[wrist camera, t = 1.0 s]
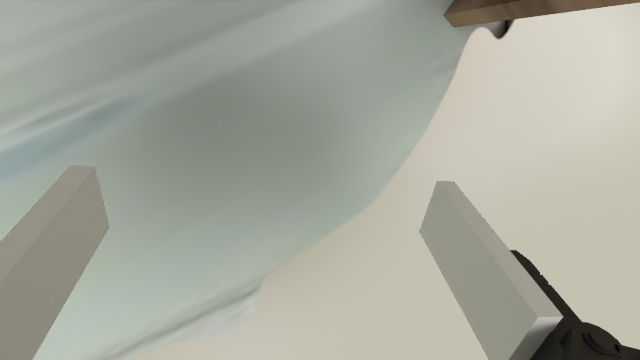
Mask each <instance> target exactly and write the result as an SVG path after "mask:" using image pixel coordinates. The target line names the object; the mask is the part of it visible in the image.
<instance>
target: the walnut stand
mask: <svg viewBox="0 0 640 360" xmlns="http://www.w3.org/2000/svg"><path fill="white" fill-rule="evenodd" d="M638 2H640V0H454V2H453V3H452V5H451V6H450V7H449V9H448V10H447V11H446V13H445V14H444V16H445V18H446V19H447V20H448V21H449V22H450V24H451V25H452V26H453V27H460V26H467V25H474V24H482V23H489V22H497V21H504V20H511V19H518V18H525V17H534V16H541V15H549V14H556V13H563V12H570V11H578V10H586V9H593V8H601V7H608V6H615V5H623V4H630V3H638Z"/></svg>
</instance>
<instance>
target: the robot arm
mask: <svg viewBox="0 0 640 360" xmlns="http://www.w3.org/2000/svg"><path fill="white" fill-rule="evenodd" d="M108 228H109V224H108V219H107V215H106V211H105V207H104V203H103V199H102V195H101V191H100V186H99V182H98V178H97V174H96V170H95V167H89V166H70V167H69V168H68V170H67V171H66V172H65V173H64V174H63V175H62V176H61V177H60V178H59V179H58V180H57V181H56V182H55V184H54V185H53V186H52V187H51V188H50V189H49V190H48V191H47V192H46V193H45V194H44V195H43V197H42V198H41V199H40V200H39V201H38V202H37V203H36V204H35V205H34V206H33V207H32V208H31V209H30V211H29V212H28V213H27V214H26V215H25V216H24V217H23V218H22V219H21V220H20V221H19V222H18V224H17V225H16V226H15V227H14V228H13V229H12V230H11V231H10V232H9V233H8V234H7V235H6V237H5V238H4V239H3V240H2V241H1V242H0V360H32V359H33V357H34V356H35V354H36V352H37V350H38V349H39V347H40V345H41V344H42V342H43V340H44V338H45V337H46V335H47V333H48V331H49V330H50V328H51V326H52V325H53V323H54V321H55V319H56V318H57V316H58V314H59V313H60V311H61V309H62V307H63V306H64V304H65V302H66V300H67V299H68V297H69V295H70V294H71V292H72V290H73V288H74V287H75V285H76V283H77V281H78V280H79V278H80V276H81V275H82V273H83V271H84V269H85V268H86V266H87V264H88V263H89V261H90V259H91V257H92V256H93V254H94V252H95V250H96V249H97V247H98V245H99V244H100V242H101V240H102V238H103V237H104V235H105V233H106V231H107V230H108ZM419 232H420V234H421V235H422V237H423V239H424V241H425V243H426V245H427V246H428V248H429V250H430V252H431V253H432V256H433V257H434V259H435V261H436V263H437V265H438V267H439V269H440V270H441V272H442V274H443V276H444V278H445V280H446V282H447V283H448V285H449V287H450V289H451V291H452V292H453V294H454V296H455V298H456V300H457V302H458V304H459V305H460V307H461V309H462V311H463V313H464V315H465V317H466V318H467V320H468V322H469V324H470V325H471V328H472V329H473V331H474V333H475V335H476V337H477V339H478V341H479V342H480V344H481V346H482V348H483V350H484V352H485V353H486V355H487V357H488V359H489V360H640V350H638V349H634V348H631V347H626V346H623V345H621V344H620V343H619V341H618V340H617V339H615V338H614V337H613V336H612V335H610V333H608V332H607V331H605V330H603V329H602V328H600V327H598V326H596V325H593V324H590V323H586V322H582V321H581V320H580V319H579V318H578V317H577V316H576V314H575V313H574V312H573V311H572V310H571V308H570V307H569V306H568V305H567V304H566V303H565V301H564V300H563V299H562V298H561V297H560V296H559V294H558V293H557V292H556V291H555V290H554V289H553V287H552V286H551V285H549V284H548V281H547V280H546V279H545V278H544V277H543V276H542V275H540V272H539V271H538V270H537V268H536V267H535V266H534V265H533V264H532V263H531V262H530V260H528V259H527V258H526V257H524V256H523V255H522V254H520V253H519V252H517V251H516V250H509V249H508V248H507V246H506V245H505V244H504V243H503V241H502V240H501V239H500V238H499V237H498V235H497V234H496V233H495V232H494V230H493V229H492V228H491V227H490V225H489V224H488V223H487V222H486V220H485V219H484V218H483V217H482V216H481V214H480V213H479V212H478V211H477V209H476V208H475V207H474V206H473V205H472V203H471V202H470V201H469V200H468V198H467V197H466V196H465V195H464V193H463V192H462V191H461V190H460V189H459V187H458V186H457V185H456V184H455V182H450V181H449V182H448V181H437V183H436V186H435V189H434V191H433V194H432V197H431V200H430V203H429V206H428V209H427V211H426V214H425V217H424V220H423V223H422V226H421V229H420V231H419Z"/></svg>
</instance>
